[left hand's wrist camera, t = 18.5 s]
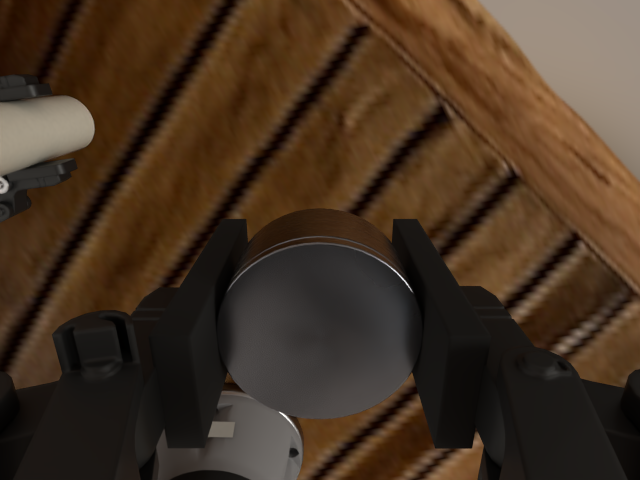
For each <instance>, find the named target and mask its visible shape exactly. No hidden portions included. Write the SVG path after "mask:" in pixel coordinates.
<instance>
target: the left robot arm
mask: <svg viewBox="0 0 640 480" xmlns="http://www.w3.org/2000/svg"><path fill="white" fill-rule="evenodd" d="M247 244H248V238H247V223H246V219H223V220H222V221H221V223H220V224H219V226H218V227H217V229H216V231H215V232H214V234H213V235H212V237H211V238H210V240H209V242H208V243H207V245H206V246H205V248H204V250H203V251H202V253H201V254H200V256H199V257H198V259H197V261H196V262H195V264H194V265H193V267H192V268H191V270H190V272H189V273H188V275H187V276H186V278H185V279H184V281H183V283H182V284H181V286H180V287H179V288H158V289H157V290H155V291H153V292H152V293H150V294H149V295H147V296H146V297H144V298H143V300H142V301H141V302H140V304H139V305H138V306H137V308H136V311H134V312H133V313H132V314H131V316H129V315H128V314H127V313H125V312H121V311H116V310H104V311H97V312H92V313H87V314H84V315H81V316H78V317H76V318H73V319H71V320H69V321H68V322H66V323H64V324H63V325H61V326H59V328H58V329H57V330H56V331H55V332H54V333H53V334H52V336H53V340H54V344H55V347H56V351H57V355H58V358H59V362H60V366H61V370H62V375H61V377H60V380H59V381H55V382H52V383H47V384H42V385H38V386H33V387H28V388H23V389H18V390H15V387H14V384H13V381H12V378H11V377H10V376H9V375H8V374H7V373H5V372H1V371H0V480H296V479H297V477H298V475H299V472H300V468H301V465H302V461H303V448H304V439H303V432H302V429H301V426H300V424H299V422H298V420H297V418H296V417H295V416H291V415H287V414H283V413H281V412H278V411H275V410H273V409H271V408H269V407H267V406H265V405H263V404H261V403H259V402H258V401H256V400H255V399H253V398H252V397H250V396H249V395H248V394H247V393H246V392H244V391H243V390H242V389H241V388H240V387H239V386H238V385H236V384H224V382H225V379H226V375H227V372H228V371H227V369H226V368H225V366H224V364H223V362H222V359H221V356H220V353H219V350H218V343H217V333H216V321H217V314H218V311H219V307H220V304H221V301H222V299H223V297H224V294H225V292H226V289H227V287H228V285H229V282H230V280H231V278H232V275H233V273H234V270H235V268H236V266H237V263H238V261H239V259H240V257H241V254H242V252H243V250H244V249H245V247H246V246H247ZM392 244H393V246H394V247H395V249H396V251H397V253H398V255H399V257H400V259H401V261H402V264H403V266H404V268H405V271H406V273H407V276H408V278H409V280H410V283H411V285H412V288H413V290H414V292H415V295H416V297H417V300H418V302H419V305H420V308H421V312H422V316H423V323H424V330H423V340H422V349H421V352H420V355H419V358H418V361H417V363H416V365H415V367H414V369H413V371H412V373H413V376H414V380H415V383H416V386H417V390H418V393H419V396H420V400H421V403H422V406H423V409H424V413H425V416H426V419H427V423H428V426H429V429H430V433H431V436H432V439H433V443H434V446H435V448H472V446H473V440H474V434H475V428H477V431H478V433H479V435H480V438H481V440H482V442H483V444H484V448H483V454H482V459H481V464H480V470H479V475H478V480H640V369H639V370H635V371H634V372H632V373H631V374H630V375H629V376H628V379H627V383H626V386H625V388H622V387H617V386H612V385H607V384H602V383H597V382H592V381H588V380H584V379H581V378H580V377H579V374H578V372H577V371H576V370H575V369H574V367H573V366H572V365H571V363H569V362H568V361H566V360H565V359H563V358H562V357H561V356H559V355H557V354H555V353H552V352H550V351H548V350H545V349H541V348H537V347H534V345H533V344H532V343H531V341H530V340H529V339H528V338H527V336H526V335H525V334H524V332H523V331H522V330H521V328H520V327H519V326H518V324H517V323H516V322H515V321H514V319H512V318H511V315H510V314H509V313H508V311H507V310H506V309H504V306H503V305H502V304H501V302H500V301H499V300H498V298H497V297H496V296H495V295H493V294H492V293H490V292H489V291H487V290H486V289H484V288H482V287H481V286H459V285H458V283H457V281H456V280H455V278H454V277H453V275H452V274H451V272H450V270H449V269H448V267H447V266H446V264H445V263H444V261H443V259H442V258H441V256H440V255H439V253H438V252H437V250H436V248H435V247H434V245H433V244H432V242H431V240H430V239H429V237H428V236H427V234H426V233H425V231H424V229H423V228H422V226H421V225H420V223H419V222H418V220H417V219H393V234H392Z"/></svg>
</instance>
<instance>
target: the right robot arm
mask: <svg viewBox="0 0 640 480" xmlns="http://www.w3.org/2000/svg"><path fill="white" fill-rule="evenodd" d="M46 95H53V94H52V91H51V88H50V85H49V84H39V82H38V79H37V77H36V76H32V75H28V74H27V75H9V76H2V77H0V101H10V100H19V99H26V98H33V97H39V96H46ZM75 169H77V165H76V162H75V159H74V158H72V159H65V160H57V161H50V162H43V163H40V164H37V165H34V166H31V167H28V168H25V169H22V170H19V171H16V172H13V173H10V174H7V175H5V176H2V177H0V222H2V221H4V220H6V219H8V218H10V217H12V216H14V215H16V214H18V213H20V212H22V211H25V210H27V209H28V208H30V206H31V200H30V198H29V197H28V196H27V189H31V188H39V187H46V186H54V185H57V184H59V183H61V182H63V181H66V180H67V179H69V178H70V177H72V176H71V174H70V172H71V171H73V170H75Z"/></svg>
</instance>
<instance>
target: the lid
mask: <svg viewBox="0 0 640 480" xmlns="http://www.w3.org/2000/svg"><path fill="white" fill-rule="evenodd" d="M423 330H424V323H423V316H422V312H421V308H420V305H419V302H418V300H417V297H416V295H415V292H414V290H413V288H412V285H411V283H410V280H409V278H408V276H407V273H406V271H405V268H404V266H403V264H402V261H401V259H400V257H399V255H398V253H397V251H396V249H395V247H394V246H393V244H392V243H391V241H390V240H389V239H388V238H387V237H386V236H385V235H384V234H383V233H382V232H381V231H380V230H379V229H378V228H376V227H375V226H374V225H372V224H371V223H369V222H368V221H366V220H364V219H362V218H360V217H358V216H356V215H353V214H350V213H347V212H344V211H339V210H333V209H320V208H318V209H306V210H301V211H296V212H293V213H290V214H287V215H284V216H282V217H280V218H278V219H276V220H274V221H272V222H271V223H269V224H268V225H266V226H265V227H263V228H262V229H261V230H260V231H259V232H258V233H256V234H255V236H254V237H253V238H252V239H251V240H250V241H249V243H248V244H247V246H246V247H245V249H244V250H243V252H242V254H241V257H240V259H239V261H238V263H237V266H236V268H235V270H234V273H233V275H232V278H231V280H230V282H229V285H228V287H227V289H226V292H225V294H224V297H223V299H222V301H221V304H220V307H219V311H218V314H217V321H216V333H217V343H218V350H219V353H220V356H221V359H222V362H223V364H224V366H225V368H226V369H227V371H228V373H229V374H230V376H231V377H232V378H233V380H234V381H235V382H236V383H237V384H238V386H239V387H240V388H241V389H242V390H243V391H244V392H246V393H247V394H248V395H249V396H250V397H252V398H253V399H255V400H256V401H258V402H259V403H261V404H263V405H265V406H267V407H269V408H271V409H273V410H275V411H278V412H281V413H283V414H287V415H291V416H295V417H301V418H308V419H331V418H339V417H345V416H349V415H353V414H356V413H359V412H362V411H364V410H367V409H369V408H371V407H373V406H375V405H377V404H379V403H381V402H382V401H383V400H385V399H386V398H388V397H389V396H391V395H392V394H393V393H394V392H395V391H396V390H398V389H399V388H400V386H401V385H402V384H403V383H404V382H405V381H406V380H407V378H408V377H409V375H410V374H411V372H412V371H413V369H414V367H415V365H416V363H417V361H418V358H419V355H420V352H421V349H422V340H423Z"/></svg>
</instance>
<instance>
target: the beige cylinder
mask: <svg viewBox="0 0 640 480" xmlns="http://www.w3.org/2000/svg"><path fill="white" fill-rule="evenodd" d="M93 136H94V121H93V118H92V116H91V114H90V112H89V111H88V109H87V108H86V107H85V106H84V105H83V104H82V103H81V102H79V101H78V100H76V99H74V98H72V97H69V96H65V95H56V96H47V97H37V98H28V99H19V100H10V101H0V177H2V176H5V175H7V174H10V173H13V172H16V171H19V170H22V169H25V168H28V167H31V166H34V165H37V164H40V163H42V162H45V161H48V160H51V159H54V158H57V157H60V156H63V155H66V154H69V153H72V152H75V151H78V150H80V149H83V148H85V147H86V146H87V145H88V144H89V143H90V142H91V140H92V138H93Z"/></svg>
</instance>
